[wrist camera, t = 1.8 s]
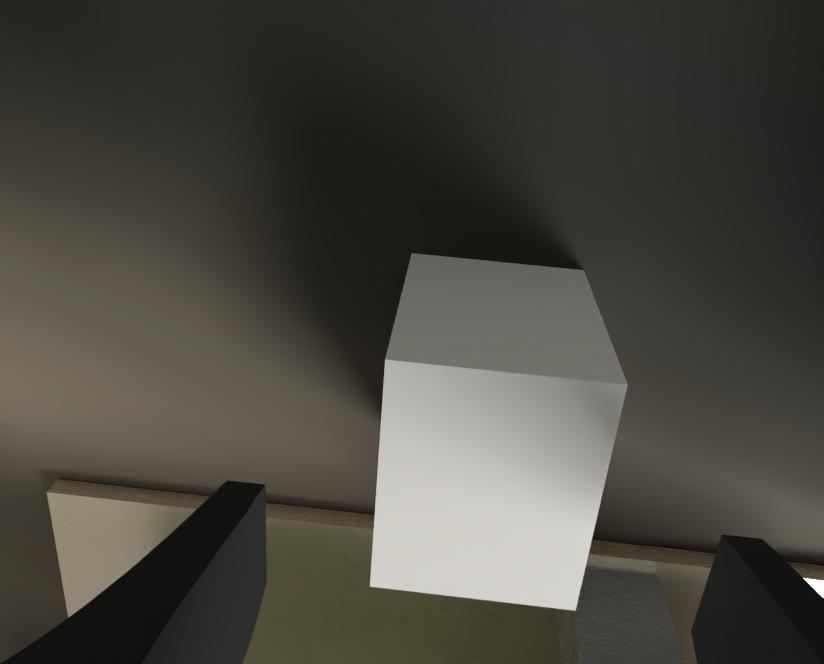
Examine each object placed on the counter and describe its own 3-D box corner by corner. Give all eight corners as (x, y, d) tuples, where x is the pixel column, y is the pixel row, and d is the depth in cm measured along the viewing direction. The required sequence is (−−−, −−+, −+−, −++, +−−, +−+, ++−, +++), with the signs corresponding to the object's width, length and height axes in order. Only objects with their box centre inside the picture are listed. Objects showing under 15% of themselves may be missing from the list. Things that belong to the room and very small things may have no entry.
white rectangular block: (583, 269, 17) (627, 384, 12) (549, 449, 19) (575, 610, 14) (411, 252, 17) (384, 359, 12) (397, 432, 19) (369, 586, 14)
